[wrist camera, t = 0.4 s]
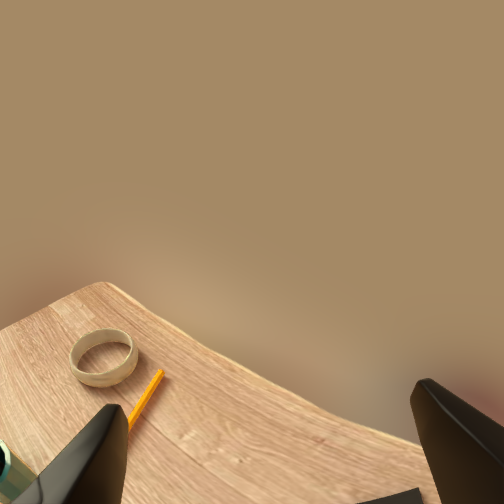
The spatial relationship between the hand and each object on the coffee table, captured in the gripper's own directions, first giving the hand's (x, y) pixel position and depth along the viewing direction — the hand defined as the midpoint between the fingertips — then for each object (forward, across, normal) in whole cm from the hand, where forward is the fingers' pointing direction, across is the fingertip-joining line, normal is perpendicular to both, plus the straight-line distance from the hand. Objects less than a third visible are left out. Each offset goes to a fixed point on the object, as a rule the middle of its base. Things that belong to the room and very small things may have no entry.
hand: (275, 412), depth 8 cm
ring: (+19, +16, +16) cm, 29 cm away
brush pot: (+1, +21, +17) cm, 27 cm away
